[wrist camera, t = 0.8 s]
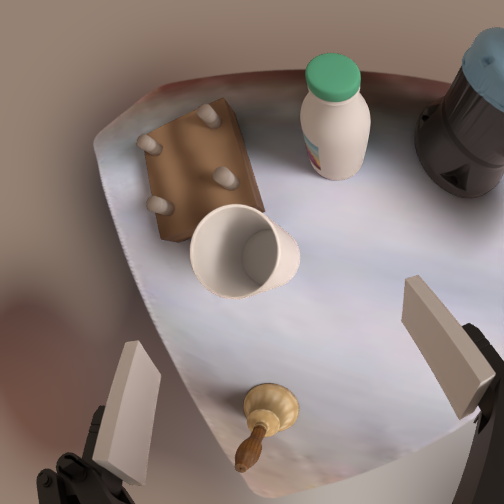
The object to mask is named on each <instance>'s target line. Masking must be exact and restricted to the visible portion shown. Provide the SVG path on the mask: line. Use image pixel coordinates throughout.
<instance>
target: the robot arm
mask: <svg viewBox="0 0 504 504" xmlns="http://www.w3.org/2000/svg"><path fill="white" fill-rule="evenodd" d="M414 138H415V147H416V151H417V154H418V157H419V160H420V162H421V164H422V166H423V167H424V169H425V171H426V172H427V173H428V175H429V176H430V177H431V178H432V179H433V180H434V181H435V182H436V183H437V184H438V185H439V186H440V187H441V188H443V189H444V190H446V191H447V192H449V193H451V194H454V195H456V196H459V197H464V198H474V197H478V196H481V195H483V194H485V193H487V192H489V191H490V190H492V189H493V188H494V187H495V186H496V185H497V184H498V183H499V181H500V180H501V178H502V176H503V173H504V28H500V27H496V28H489V29H486V30H484V31H482V32H481V33H480V34H479V35H478V36H477V37H476V38H475V40H474V42H473V44H472V45H471V47H470V48H469V49H468V50H467V51H466V52H465V54H464V56H463V59H462V66H461V68H460V70H459V71H458V74H457V75H456V77H455V79H454V81H453V83H452V84H451V86H450V88H449V90H448V92H447V94H446V95H445V96H443V97H441V98H439V99H437V100H436V101H434V102H432V103H431V104H429V105H428V106H427V107H426V108H425V109H424V111H423V112H422V114H421V116H420V118H419V120H418V122H417V124H416V128H415V137H414ZM401 321H402V323H403V324H404V326H405V327H406V329H407V331H408V332H409V334H410V335H411V337H412V338H413V340H414V342H415V343H416V345H417V347H418V348H419V350H420V351H421V353H422V355H423V356H424V358H425V360H426V361H427V363H428V365H429V366H430V368H431V370H432V372H433V373H434V375H435V377H436V379H437V380H438V382H439V384H440V386H441V387H442V389H443V391H444V393H445V395H446V396H447V398H448V400H449V402H450V404H451V406H452V407H453V409H454V411H455V413H456V415H457V417H458V419H459V420H460V419H462V418H464V417H466V416H468V415H470V414H471V413H473V412H474V411H475V409H476V407H477V406H479V408H480V410H481V411H480V412H479V414H478V415H477V417H476V418H475V420H474V423H476V422H477V420H478V422H477V426H476V431H475V435H474V439H473V442H472V446H471V450H470V453H469V457H468V460H467V463H466V466H465V469H464V472H463V475H462V478H461V481H460V484H459V487H458V489H457V492H456V495H455V497H454V500H453V502H452V504H504V361H503V360H502V358H501V357H500V356H499V354H498V353H497V352H496V350H495V349H494V348H493V346H492V345H490V342H489V341H488V340H487V339H486V338H485V336H484V335H483V333H482V332H481V331H480V330H479V329H478V328H477V327H475V326H474V325H472V324H470V323H468V324H466V325H463V326H461V325H460V324H459V323H458V322H457V320H456V319H455V318H454V317H453V315H452V314H451V313H450V312H449V310H448V309H447V308H446V307H445V305H444V304H443V303H442V302H441V301H440V299H439V298H438V297H437V296H436V295H435V294H434V292H433V291H432V290H431V289H430V288H429V287H428V285H427V284H426V283H425V282H424V281H423V280H422V278H421V277H420V276H419V275H416V276H413V277H410V278H407V279H405V288H404V301H403V311H402V320H401ZM160 379H161V374H160V373H159V371H158V370H157V368H156V367H155V365H154V364H153V362H152V361H151V359H150V358H149V356H148V355H147V353H146V351H145V350H144V349H143V347H142V345H141V344H140V342H139V341H132V342H126V343H125V346H124V349H123V352H122V355H121V358H120V361H119V364H118V367H117V370H116V374H115V377H114V380H113V383H112V387H111V390H110V393H109V397H108V400H107V404H106V406H99V407H98V409H97V410H96V412H95V413H94V415H93V419H92V422H91V426H90V429H89V433H88V437H87V440H86V444H85V448H84V452H83V456H82V459H81V458H80V457H79V456H77V455H76V454H74V453H69V452H68V453H65V454H63V455H62V456H61V457H60V458H59V459H58V461H57V465H56V470H57V473H56V472H54V471H53V470H51V469H44V470H42V471H41V472H40V473H39V474H38V476H37V491H38V499H39V504H135V503H134V501H133V500H132V498H131V497H130V495H129V494H128V492H127V491H126V489H125V488H124V487H123V486H122V481H125V482H126V483H128V484H130V485H138V486H145V480H146V472H147V463H148V456H149V448H150V441H151V434H152V428H153V421H154V414H155V408H156V402H157V397H158V390H159V385H160Z"/></svg>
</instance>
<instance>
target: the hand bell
mask: <svg viewBox="0 0 504 504" xmlns="http://www.w3.org/2000/svg"><path fill="white" fill-rule="evenodd" d="M244 412H245V415H246V417H247V425H248V428H249V429H250V431H251V432H252V433H251V435H250V437H249V438H247V439H246V440H245V441H243V442H242V443H241V445H240V446H239V447H238V449H237V451H236V454H235V469H236V471H238V472H241V473H243V472H245V471H246V470H247V469H249V468H250V467H252V466H253V465H254V464H255V463H256V462H257V461H258V459H259V457H260V454H261V450H262V444H261V442H262V439H263V438H264V437H269V436H272V435H274V434H275V433H276V432H279V431H283V430H285V429H287V428H289V427H290V426H292V425H293V424H294V423H295V421H296V420H297V418H298V415H299V404H298V401H297V399H296V397H295V395H294V394H293V393H292V392H291V391H289V390H288V389H287V388H285V387H283V386H281V385H278V384H271V383H268V384H261V385H258V386H256V387H254V388H253V389H251V390H250V391H249V392H248V394H247V395H246V397H245V399H244Z"/></svg>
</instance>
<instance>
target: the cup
mask: <svg viewBox="0 0 504 504" xmlns="http://www.w3.org/2000/svg"><path fill="white" fill-rule="evenodd" d="M190 261H191V265H192V268H193V271H194V273H195V275H196V277H197V279H198V280H199V281H200V283H201V284H202V285H203V286H204V287H205V288H206V289H207V290H209V291H210V292H212V293H213V294H215V295H217V296H220V297H223V298H228V299H242V298H247V297H250V296H253V295H256V294H259V293H262V292H265V291H267V290H270V289H273V288H276V287H279V286H282V285H284V284H286V283H287V282H288V281H290V280H291V279H292V278H293V276H294V275H295V274H296V272H297V270H298V267H299V263H300V251H299V248H298V245H297V243H296V241H295V240H294V238H293V237H292V236H291V235H290V234H289V233H287V232H286V231H285V230H284V229H282V228H281V227H280V226H279V225H277V224H276V223H275V222H273V221H272V220H271V219H270V218H268V217H267V216H266V215H264V214H263V213H262V212H260V211H259V210H257V209H255V208H252V207H249V206H246V205H240V204H231V205H225V206H222V207H219V208H217V209H215V210H213V211H212V212H210V213H209V214H208V215H206V216H205V217H204V218H203V219H202V220H201V222H200V223H199V224H198V226H197V228H196V229H195V231H194V234H193V236H192V240H191V244H190Z"/></svg>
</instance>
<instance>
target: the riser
mask: <svg viewBox="0 0 504 504" xmlns="http://www.w3.org/2000/svg"><path fill="white" fill-rule="evenodd" d="M136 144H137V146H138V147H140V148H141V149H143V150H144V151H145V158H146V164H147V170H148V176H149V182H150V187H151V193H152V196H151V197H149V198H148V200H147V203H146V206H147V209H148V210H149V211H152V212H155V214H156V218H157V223H158V228H159V233H160V238H161V240H167V241H173V242H181V241H184V240H187V239H189V238H192V236H193V234H194V231H195V229H196V228H197V226H198V224H199V223H200V222H201V220H202V219H203V218H204V217H205V216H206V215H208V214H209V213H210V212H212V211H213V210H215V209H217V208H219V207H222V206H225V205H231V204H240V205H246V206H249V207H252V208H255V209H257V210H259V211H260V212H262V213H263V212H265V209H264V206H263V202H262V199H261V196H260V193H259V189H258V186H257V183H256V180H255V176H254V173H253V170H252V167H251V163H250V160H249V157H248V154H247V151H246V148H245V144H244V141H243V138H242V135H241V132H240V129H239V126H238V122H237V119H236V116H235V113H234V112H233V110H232V109H231V107H230V106H229V105H228V103H227V102H226V100H225V99H224V98H221V99H219V100H217V101H214V102H212V103H210V104H202V105H201V106H199V107H198V109H196V110H194V111H192V112H190V113H188V114H186V115H183V116H181V117H179V118H177V119H175V120H173V121H171V122H169V123H167V124H165V125H163V126H161V127H159V128H157V129H156V130H154V131H152V132H150V133H148V134H142V135H140V136H139V137H138V139H137V142H136Z"/></svg>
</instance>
